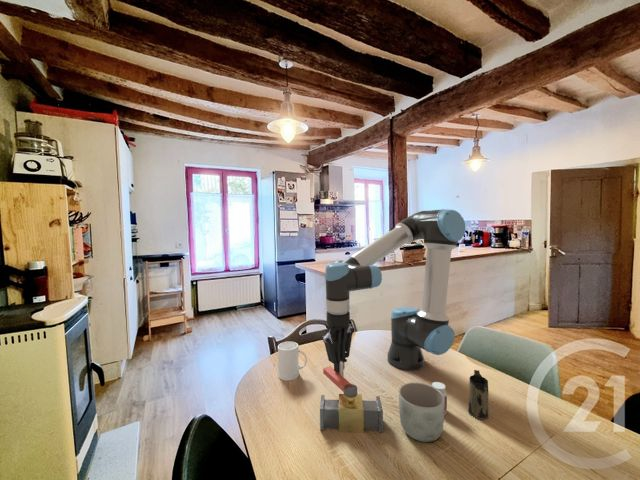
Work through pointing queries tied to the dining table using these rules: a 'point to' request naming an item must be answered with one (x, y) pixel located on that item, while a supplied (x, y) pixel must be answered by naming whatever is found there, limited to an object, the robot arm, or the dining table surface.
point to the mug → (289, 361)
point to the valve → (351, 414)
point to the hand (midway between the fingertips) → (339, 380)
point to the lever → (341, 382)
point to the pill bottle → (442, 389)
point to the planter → (421, 411)
